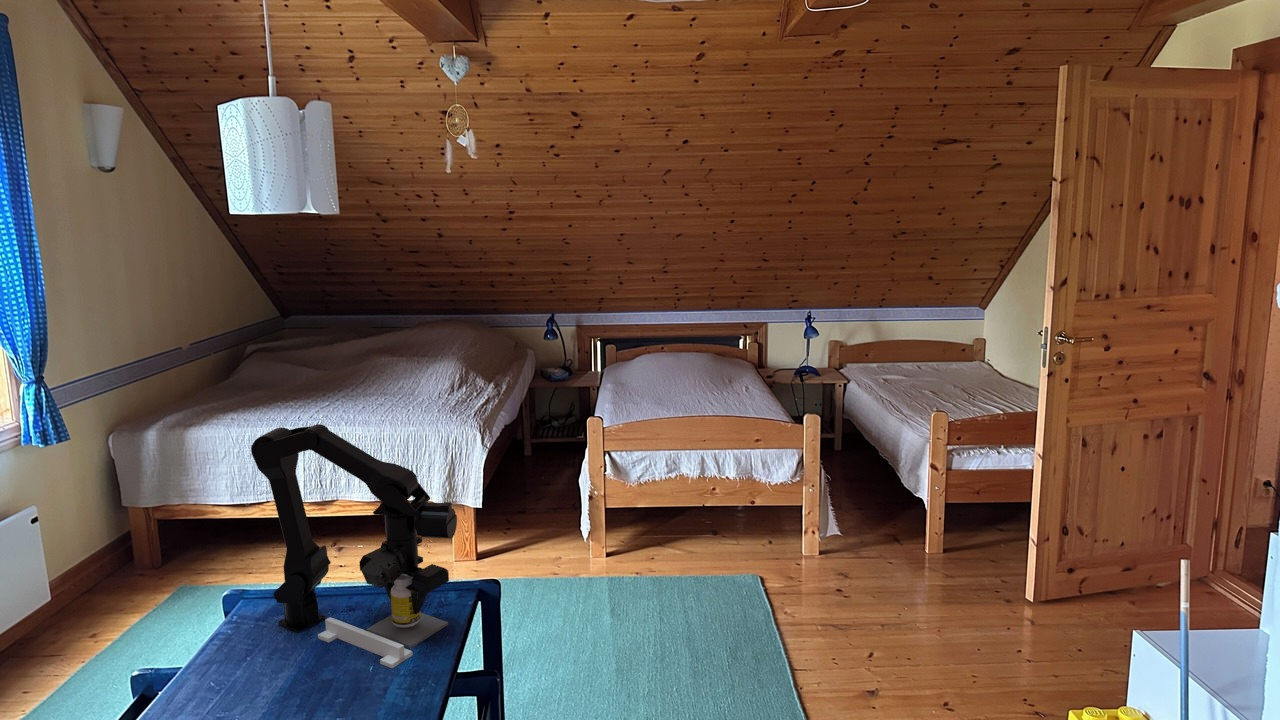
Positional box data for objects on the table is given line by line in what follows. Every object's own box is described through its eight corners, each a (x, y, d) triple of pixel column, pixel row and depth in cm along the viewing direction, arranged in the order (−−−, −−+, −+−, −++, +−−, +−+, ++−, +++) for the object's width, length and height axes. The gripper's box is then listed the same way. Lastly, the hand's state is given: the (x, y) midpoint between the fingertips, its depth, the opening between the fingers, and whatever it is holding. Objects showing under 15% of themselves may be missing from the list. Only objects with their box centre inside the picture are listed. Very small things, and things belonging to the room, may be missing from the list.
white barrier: (318, 638, 157) (316, 624, 157) (339, 626, 161) (338, 612, 161) (392, 668, 147) (390, 653, 147) (412, 655, 152) (411, 640, 151)
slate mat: (366, 631, 160) (366, 629, 160) (404, 609, 168) (404, 607, 168) (410, 648, 154) (410, 646, 154) (448, 624, 162) (448, 622, 162)
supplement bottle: (413, 630, 158) (410, 583, 156) (387, 627, 159) (384, 580, 157) (425, 616, 163) (423, 570, 161) (400, 613, 164) (397, 567, 162)
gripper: (334, 539, 155) (340, 615, 158) (405, 562, 146) (409, 641, 149) (379, 519, 164) (384, 591, 167) (449, 539, 155) (452, 615, 158)
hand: (406, 609), depth 160 cm, fingers closed on supplement bottle, 5 cm apart
